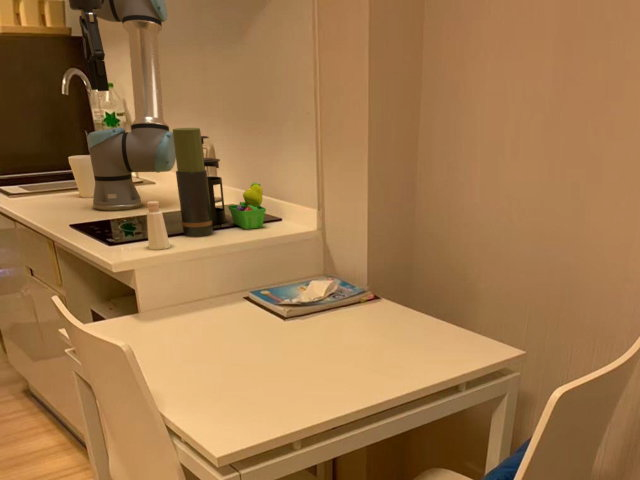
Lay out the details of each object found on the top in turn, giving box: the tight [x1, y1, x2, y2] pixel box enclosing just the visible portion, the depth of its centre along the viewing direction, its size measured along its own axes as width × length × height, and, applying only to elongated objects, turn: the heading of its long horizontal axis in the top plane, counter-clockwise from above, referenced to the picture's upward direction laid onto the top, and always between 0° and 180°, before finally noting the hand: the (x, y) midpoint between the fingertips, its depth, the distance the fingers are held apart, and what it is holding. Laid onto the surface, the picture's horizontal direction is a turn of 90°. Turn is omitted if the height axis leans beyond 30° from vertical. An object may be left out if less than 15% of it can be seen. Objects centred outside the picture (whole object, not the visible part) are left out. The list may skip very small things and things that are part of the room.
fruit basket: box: [227, 182, 267, 230], centre depth 196 cm, size 11×9×11 cm
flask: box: [175, 169, 214, 238], centre depth 185 cm, size 8×8×20 cm
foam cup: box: [67, 154, 95, 198], centre depth 245 cm, size 10×9×13 cm
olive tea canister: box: [172, 127, 206, 173], centre depth 179 cm, size 7×7×10 cm
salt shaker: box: [146, 200, 171, 251], centre depth 173 cm, size 5×5×11 cm
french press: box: [201, 135, 227, 226], centre depth 199 cm, size 12×9×23 cm
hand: (100, 90), depth 177 cm, fingers open, 13 cm apart
